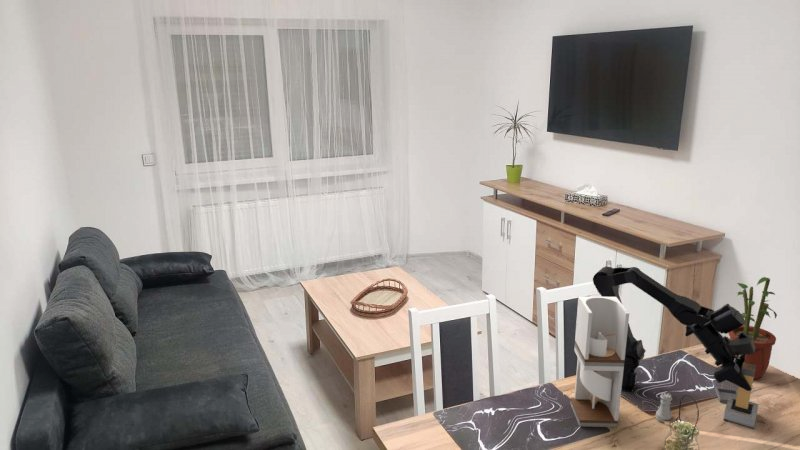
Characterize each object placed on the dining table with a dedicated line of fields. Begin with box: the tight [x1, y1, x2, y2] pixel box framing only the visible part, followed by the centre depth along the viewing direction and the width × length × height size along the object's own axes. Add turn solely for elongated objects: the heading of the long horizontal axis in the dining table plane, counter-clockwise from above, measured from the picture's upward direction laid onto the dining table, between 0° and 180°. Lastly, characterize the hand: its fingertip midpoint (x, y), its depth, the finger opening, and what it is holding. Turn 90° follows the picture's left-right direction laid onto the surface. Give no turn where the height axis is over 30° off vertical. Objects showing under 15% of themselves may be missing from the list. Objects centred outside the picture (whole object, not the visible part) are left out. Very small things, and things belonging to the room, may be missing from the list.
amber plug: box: [735, 362, 756, 409], centre depth 161 cm, size 3×4×12 cm
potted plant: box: [728, 276, 778, 380], centre depth 184 cm, size 17×16×35 cm
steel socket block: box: [723, 396, 760, 430], centre depth 163 cm, size 7×8×4 cm
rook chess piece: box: [654, 391, 673, 424], centre depth 164 cm, size 4×4×8 cm
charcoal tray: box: [714, 386, 738, 404], centre depth 173 cm, size 6×7×2 cm
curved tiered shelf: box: [569, 295, 630, 428], centre depth 162 cm, size 11×11×35 cm
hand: (751, 386), depth 160 cm, fingers closed on amber plug, 4 cm apart
